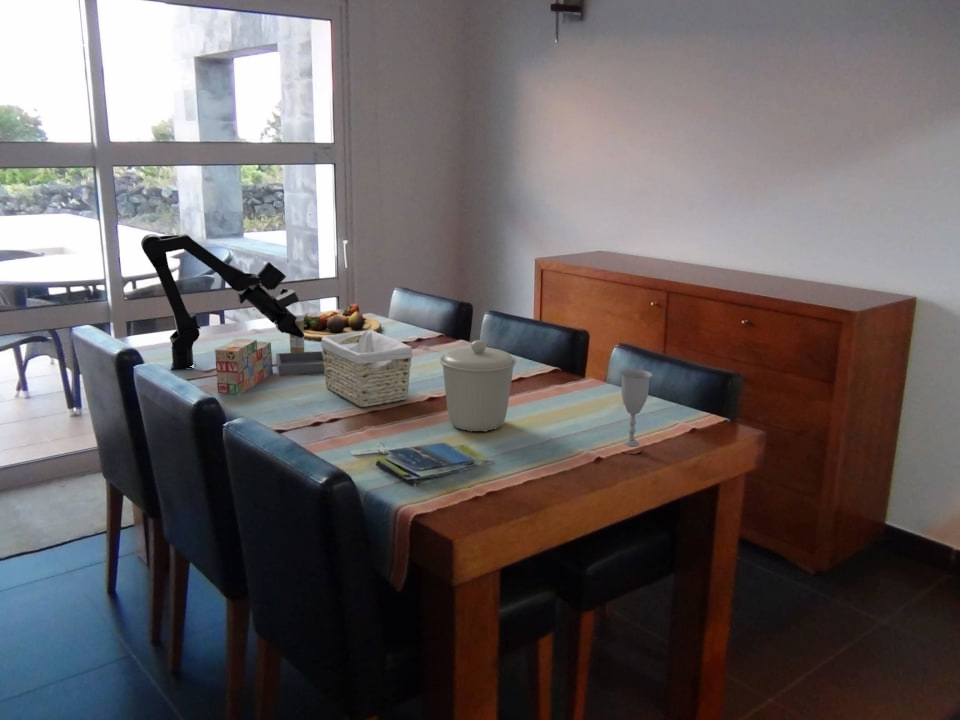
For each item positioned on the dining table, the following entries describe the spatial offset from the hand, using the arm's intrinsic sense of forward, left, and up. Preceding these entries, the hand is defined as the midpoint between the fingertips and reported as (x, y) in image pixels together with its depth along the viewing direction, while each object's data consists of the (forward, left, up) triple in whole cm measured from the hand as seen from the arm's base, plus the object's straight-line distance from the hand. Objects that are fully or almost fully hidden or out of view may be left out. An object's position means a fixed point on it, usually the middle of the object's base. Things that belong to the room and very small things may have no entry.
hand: (301, 334), depth 260 cm
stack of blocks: (+25, -17, -7) cm, 31 cm away
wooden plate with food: (-33, +14, -8) cm, 36 cm away
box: (+13, -1, -7) cm, 15 cm away
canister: (+73, +36, -7) cm, 81 cm away
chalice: (+97, +65, -7) cm, 117 cm away
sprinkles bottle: (0, -1, -7) cm, 7 cm away
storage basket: (+42, +14, -7) cm, 45 cm away
